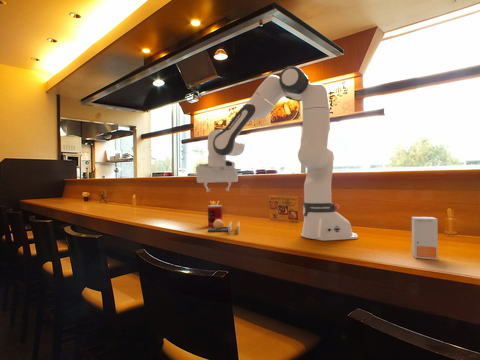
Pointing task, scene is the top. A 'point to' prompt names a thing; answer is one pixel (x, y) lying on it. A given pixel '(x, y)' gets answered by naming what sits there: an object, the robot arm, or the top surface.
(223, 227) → the coaster
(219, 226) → the ball
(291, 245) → the top surface
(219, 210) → the canned food
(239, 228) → the walls
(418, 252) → the skincare box
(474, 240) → the top surface
